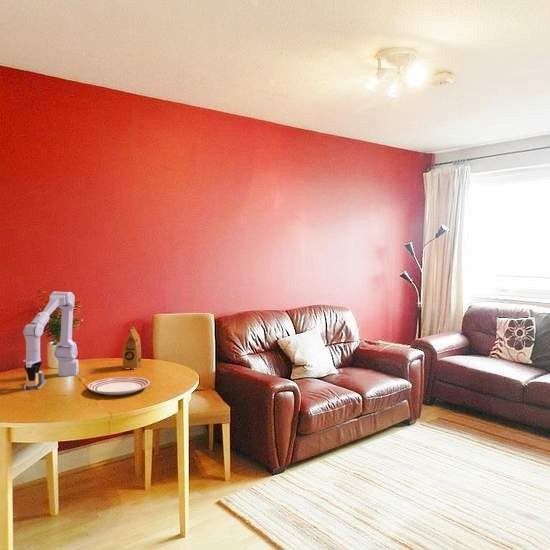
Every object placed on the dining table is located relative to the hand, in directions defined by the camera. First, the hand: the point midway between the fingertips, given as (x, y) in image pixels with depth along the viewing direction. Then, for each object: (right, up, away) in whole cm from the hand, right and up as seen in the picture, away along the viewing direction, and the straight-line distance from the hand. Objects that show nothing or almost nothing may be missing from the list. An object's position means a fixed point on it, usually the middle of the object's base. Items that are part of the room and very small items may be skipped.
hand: (33, 379), depth 216 cm
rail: (-1, -5, +4) cm, 6 cm away
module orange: (0, -3, 0) cm, 3 cm away
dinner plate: (+38, -6, +4) cm, 39 cm away
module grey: (-2, -4, +8) cm, 9 cm away
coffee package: (+31, -4, +47) cm, 56 cm away
